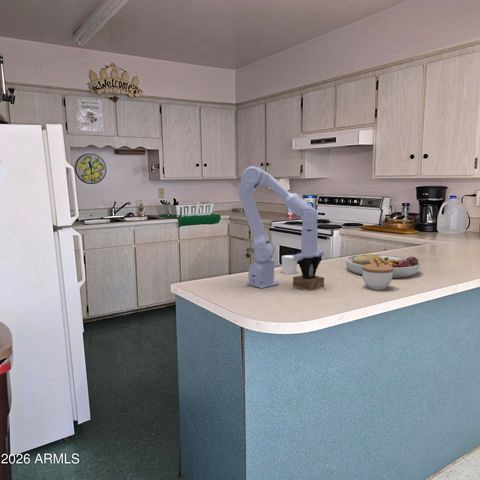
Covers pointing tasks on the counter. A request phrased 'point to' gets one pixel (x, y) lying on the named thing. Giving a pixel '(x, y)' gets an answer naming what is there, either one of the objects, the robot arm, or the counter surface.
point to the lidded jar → (377, 275)
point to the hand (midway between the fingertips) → (308, 277)
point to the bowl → (399, 264)
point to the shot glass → (289, 264)
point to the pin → (311, 271)
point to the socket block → (308, 282)
